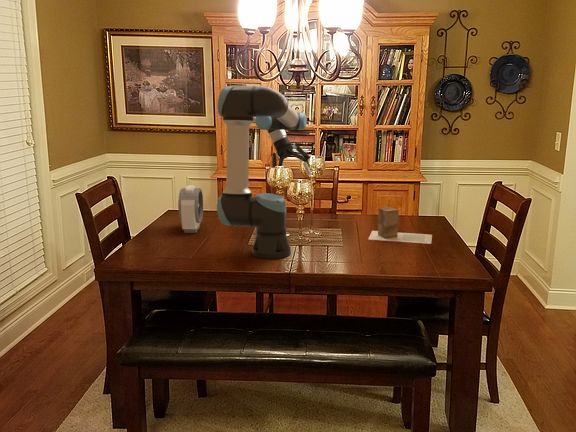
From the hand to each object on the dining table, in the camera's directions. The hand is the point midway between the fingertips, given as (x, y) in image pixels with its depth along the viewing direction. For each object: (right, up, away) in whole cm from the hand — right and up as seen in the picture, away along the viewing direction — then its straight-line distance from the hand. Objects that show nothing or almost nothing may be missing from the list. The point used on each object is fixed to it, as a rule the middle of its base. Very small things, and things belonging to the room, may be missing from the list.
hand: (298, 180), depth 274 cm
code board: (+43, -26, -24) cm, 56 cm away
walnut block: (+38, -25, -23) cm, 51 cm away
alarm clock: (-48, -23, -9) cm, 54 cm away
